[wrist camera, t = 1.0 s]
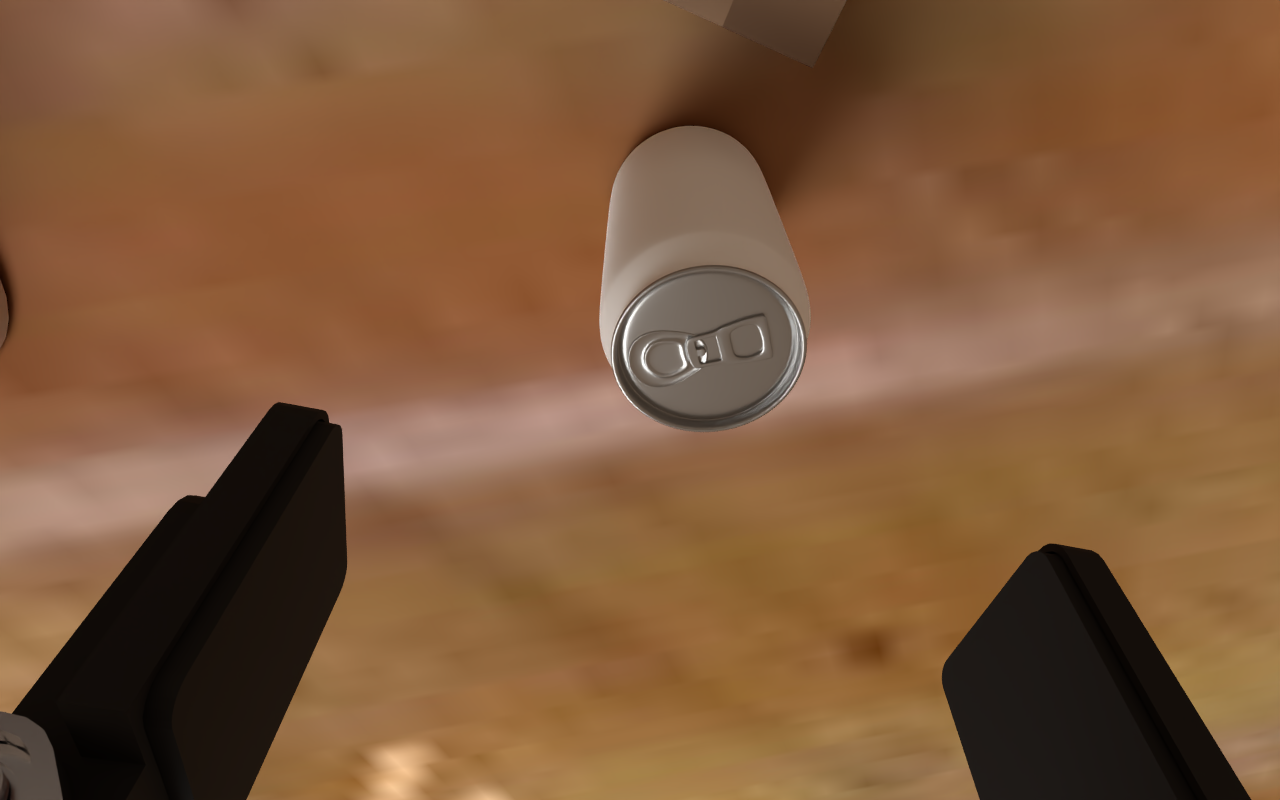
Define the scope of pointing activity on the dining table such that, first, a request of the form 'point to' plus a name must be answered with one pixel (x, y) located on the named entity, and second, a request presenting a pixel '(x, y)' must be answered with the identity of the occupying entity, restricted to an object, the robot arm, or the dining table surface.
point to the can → (700, 285)
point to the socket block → (774, 22)
